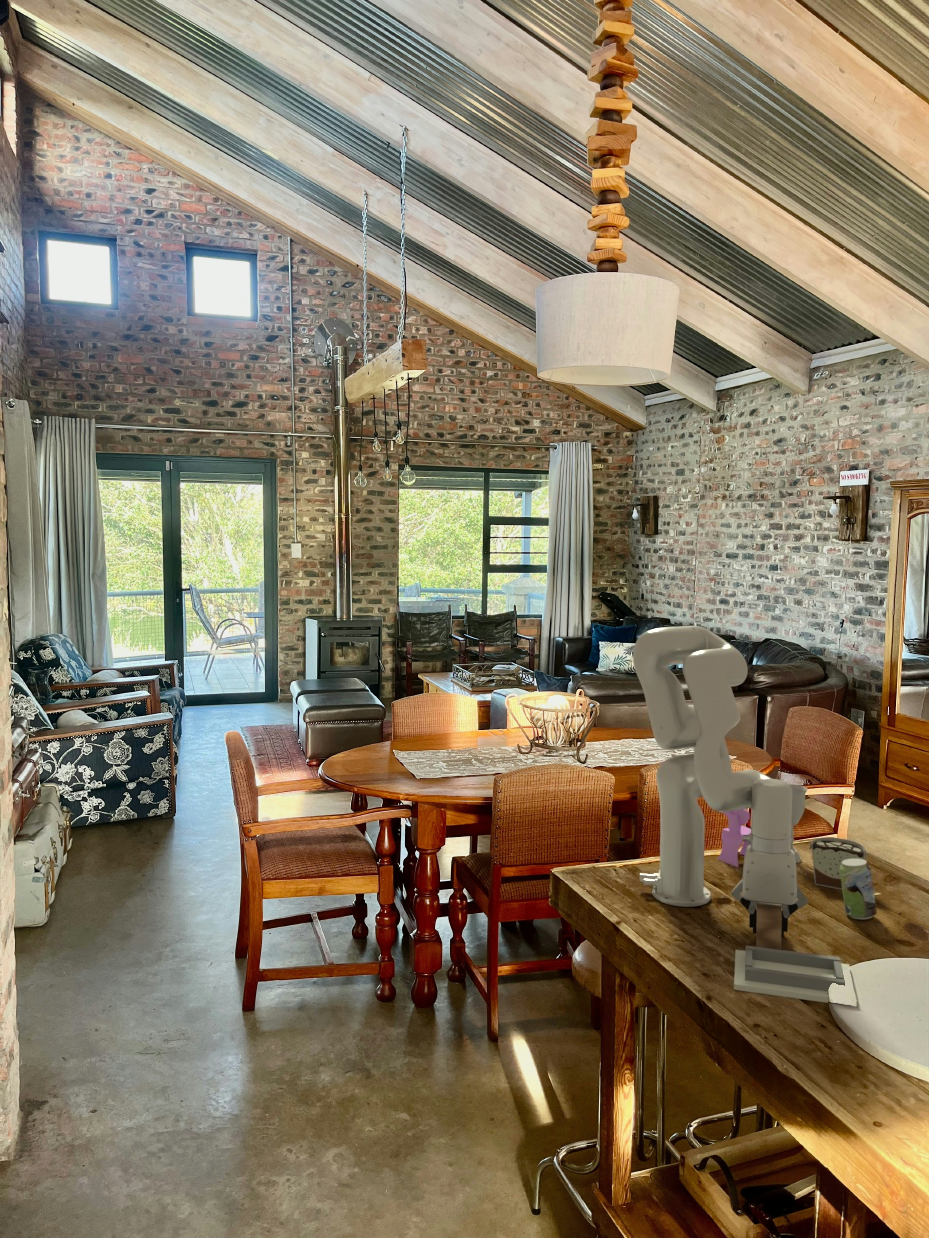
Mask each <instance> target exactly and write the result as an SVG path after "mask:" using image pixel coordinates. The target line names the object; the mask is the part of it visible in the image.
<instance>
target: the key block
mask: <svg viewBox="0 0 929 1238" xmlns="http://www.w3.org/2000/svg"><path fill="white" fill-rule="evenodd" d="M756 910H757V925H756V934H755V947H761V948H769V949H777V950H782V937H781V928H782V913H781V911H782V907H781V904H772V903H763V902H757V905H756Z"/></svg>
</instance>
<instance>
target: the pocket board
mask: <svg viewBox="0 0 929 1238" xmlns="http://www.w3.org/2000/svg"><path fill="white" fill-rule="evenodd" d="M734 953H735V954H734V977H733V980H734V981H733V990H735V991H740V992H748V993H755V994H762V995H771V996H777V997H784V998H792V999H798V1000H806V1001H813V1002H819V1003H828V994H827V993H828V989H829V987H830V985H831V984H832V983H836V984H838V985H844V986H845V980H844V975H843V971H844V970H847V969H848V968H850V969H851V967H850V964H849V963H842V961H841V957H839V956H831V955H825V954H817V953H816V954H815V953H807V952H801V951H800V952H799V951H791V950H784V949H783V950H782V949H781V950H777V949H769V948H761V947H756V946H752V945H745V950H739V949H735V952H734ZM834 977H836V978H834ZM828 1004H829V1003H828Z"/></svg>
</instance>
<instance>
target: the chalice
mask: <svg viewBox="0 0 929 1238" xmlns="http://www.w3.org/2000/svg"><path fill="white" fill-rule="evenodd" d="M788 784H789V783H788ZM789 785H790V786H791V788H792V821H791V849H792V850H793V851H794V853H795V858H796V864H797V863H801V862H802V859H801V856H800V854H799V851H798V850H797V849H795V848H794V845H793V844H794V842H795V841H796V840H795V839H794V834H795V831H794V826H796V825H798V823H799V822H800V820H801V818H802V817H803V814H804V811H805V810H806V809H805V808H806V793H807V791H808V787H806V786H804V785H800V784H794V783H793V784H791V783H790V784H789Z"/></svg>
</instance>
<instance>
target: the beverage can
mask: <svg viewBox="0 0 929 1238" xmlns="http://www.w3.org/2000/svg"><path fill="white" fill-rule="evenodd" d="M840 876H841V883H842V895H843V896H842V898H843V903H844V911H845V914H846V915H847V916H849V917H850V918H852V919H855V920H869V919H872V918H873V917H874V916H875V915H876V914H877V911H878V910H877V905H876V898H875V891H874V890H875V889H874V883H873V876H872V868H871V865H869V864H868V860H866V859H865V858H864V859H860V858H849V859H845V860H843V861H842V864H841V866H840Z"/></svg>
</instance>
